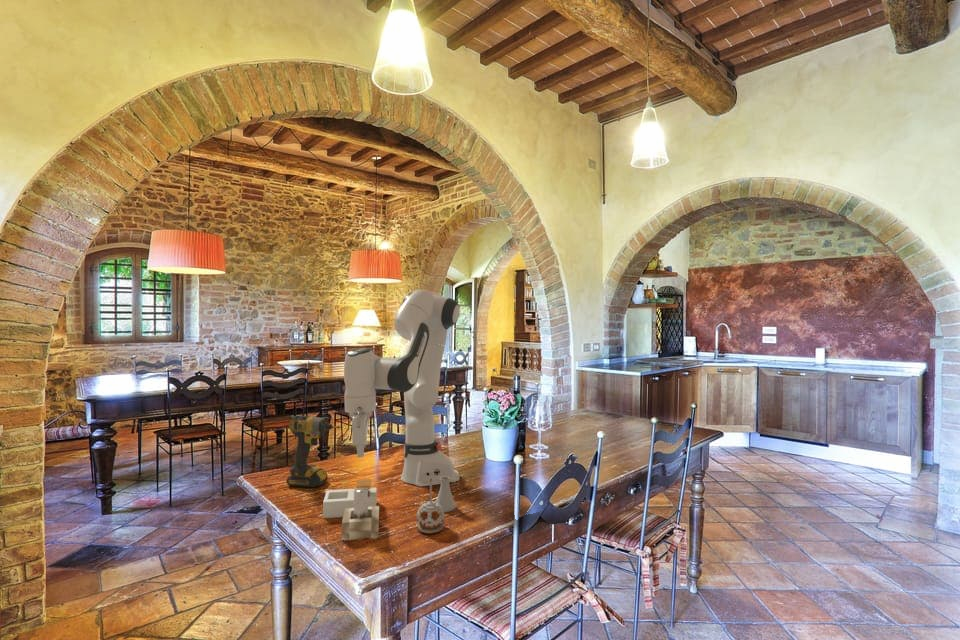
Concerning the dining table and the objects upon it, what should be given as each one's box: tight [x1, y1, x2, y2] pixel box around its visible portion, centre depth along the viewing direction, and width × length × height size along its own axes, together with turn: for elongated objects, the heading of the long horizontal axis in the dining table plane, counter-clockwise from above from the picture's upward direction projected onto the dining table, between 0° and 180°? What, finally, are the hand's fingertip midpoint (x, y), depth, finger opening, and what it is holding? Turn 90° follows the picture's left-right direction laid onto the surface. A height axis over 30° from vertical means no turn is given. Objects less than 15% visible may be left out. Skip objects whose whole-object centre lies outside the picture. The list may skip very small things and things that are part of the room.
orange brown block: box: [355, 478, 372, 497], centre depth 153 cm, size 4×6×7 cm
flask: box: [435, 476, 457, 513], centre depth 154 cm, size 7×7×10 cm
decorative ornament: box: [416, 478, 445, 534], centre depth 139 cm, size 8×8×15 cm
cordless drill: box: [286, 414, 342, 488], centre depth 174 cm, size 9×20×25 cm, turn 78°
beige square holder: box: [341, 505, 380, 541], centre depth 137 cm, size 10×10×5 cm
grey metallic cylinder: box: [354, 488, 368, 519], centre depth 137 cm, size 4×4×12 cm
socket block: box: [322, 486, 378, 519], centre depth 152 cm, size 16×10×5 cm, turn 101°
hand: (361, 451), depth 137 cm, fingers open, 8 cm apart
